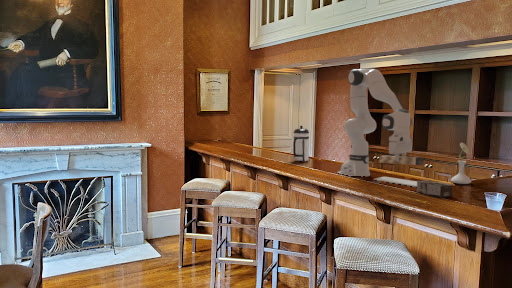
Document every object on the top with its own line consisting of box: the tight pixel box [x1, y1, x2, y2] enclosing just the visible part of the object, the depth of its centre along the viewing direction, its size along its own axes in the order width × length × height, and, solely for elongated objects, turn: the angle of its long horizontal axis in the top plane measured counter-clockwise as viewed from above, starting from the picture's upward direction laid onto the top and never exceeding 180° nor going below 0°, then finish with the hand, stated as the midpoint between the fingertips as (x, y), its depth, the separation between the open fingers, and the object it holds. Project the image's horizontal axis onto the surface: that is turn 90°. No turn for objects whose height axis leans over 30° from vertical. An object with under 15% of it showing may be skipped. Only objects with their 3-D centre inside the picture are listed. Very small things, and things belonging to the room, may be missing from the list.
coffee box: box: [416, 179, 453, 199], centre depth 223 cm, size 9×6×16 cm
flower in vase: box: [450, 142, 472, 185], centre depth 250 cm, size 13×11×25 cm
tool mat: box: [373, 176, 418, 188], centre depth 255 cm, size 30×12×1 cm, turn 41°
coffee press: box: [292, 125, 311, 164], centre depth 340 cm, size 17×16×30 cm
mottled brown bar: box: [378, 155, 424, 166], centre depth 240 cm, size 26×4×4 cm, turn 39°
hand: (400, 160), depth 241 cm, fingers closed on mottled brown bar, 4 cm apart
